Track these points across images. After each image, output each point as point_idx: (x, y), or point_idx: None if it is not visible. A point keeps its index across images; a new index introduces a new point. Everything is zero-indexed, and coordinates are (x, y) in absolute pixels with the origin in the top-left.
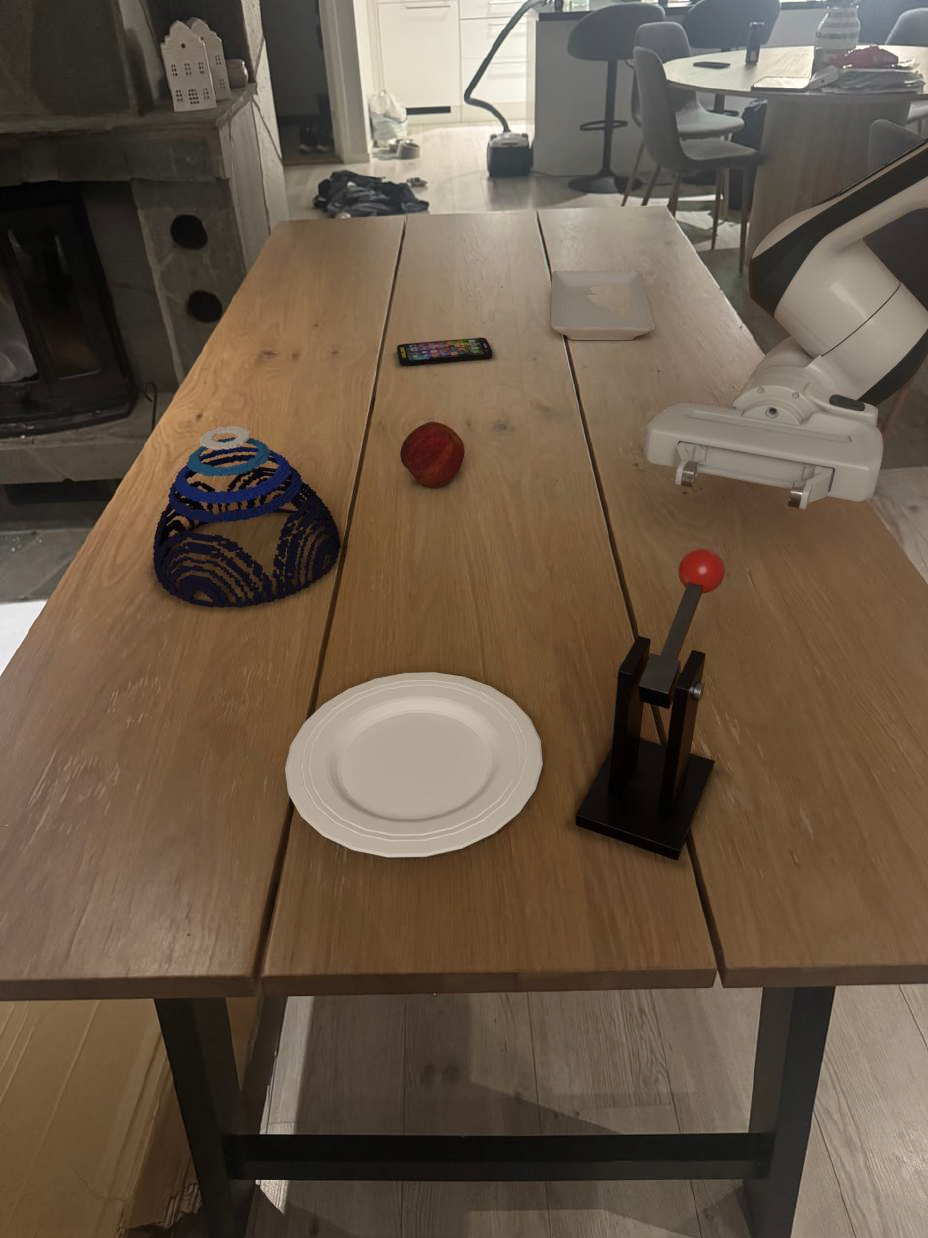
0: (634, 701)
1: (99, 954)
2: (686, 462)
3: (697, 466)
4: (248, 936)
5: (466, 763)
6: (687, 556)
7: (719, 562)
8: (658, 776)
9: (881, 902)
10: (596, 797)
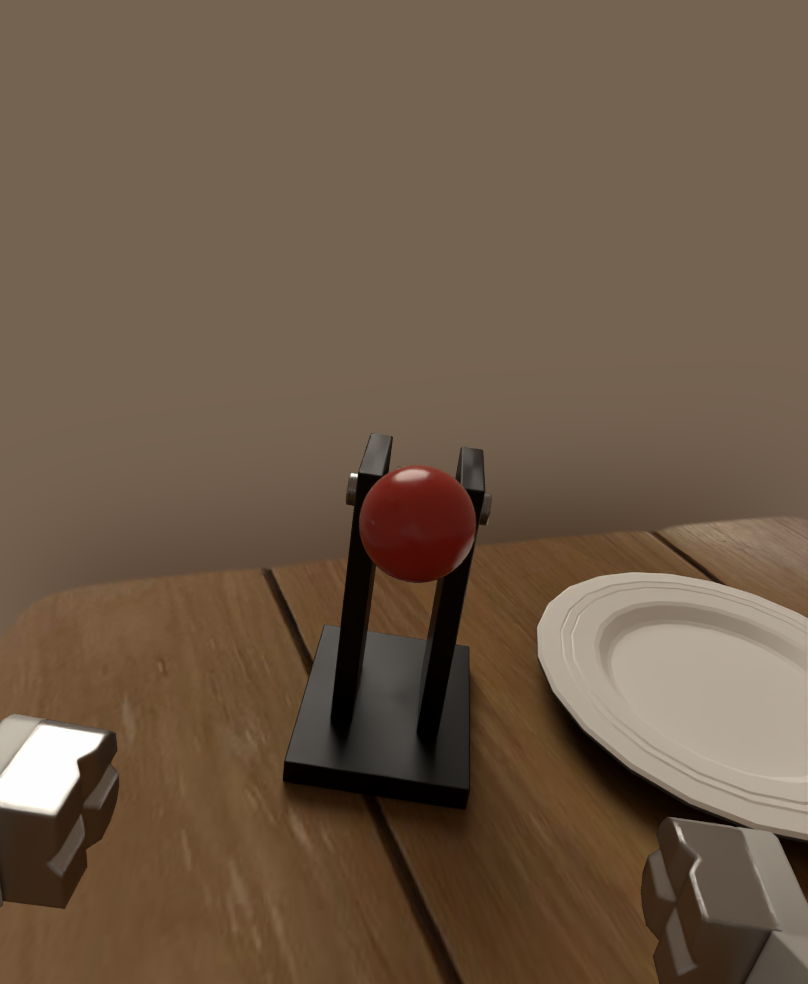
0: None
1: (764, 526)
2: (771, 897)
3: (689, 891)
4: (681, 544)
5: (659, 700)
6: (462, 486)
7: (379, 482)
8: (375, 715)
9: (55, 632)
10: (454, 671)
